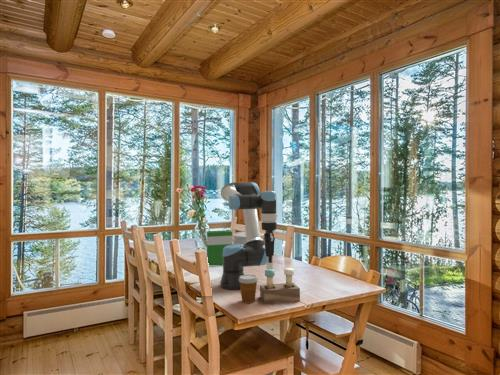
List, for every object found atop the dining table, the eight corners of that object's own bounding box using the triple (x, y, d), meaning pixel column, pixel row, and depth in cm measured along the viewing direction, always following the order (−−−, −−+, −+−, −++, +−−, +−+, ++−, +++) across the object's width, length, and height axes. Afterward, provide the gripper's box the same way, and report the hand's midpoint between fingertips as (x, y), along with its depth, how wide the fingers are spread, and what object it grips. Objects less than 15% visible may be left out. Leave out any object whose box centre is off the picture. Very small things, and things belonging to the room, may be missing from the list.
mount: (260, 296, 176) (260, 285, 176) (293, 294, 179) (293, 282, 179) (264, 303, 166) (264, 290, 166) (300, 300, 169) (299, 288, 169)
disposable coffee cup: (235, 303, 167) (235, 278, 167) (243, 296, 176) (242, 273, 175) (254, 305, 163) (253, 280, 163) (260, 298, 172) (260, 275, 172)
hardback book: (230, 262, 255) (230, 230, 254) (232, 264, 247) (232, 231, 247) (207, 263, 250) (206, 231, 250) (208, 266, 243) (207, 232, 243)
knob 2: (283, 285, 175) (283, 268, 175) (292, 285, 176) (292, 267, 176) (285, 288, 170) (285, 270, 170) (295, 288, 171) (294, 270, 171)
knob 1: (264, 287, 173) (263, 269, 173) (273, 286, 174) (273, 269, 174) (266, 290, 169) (266, 271, 168) (275, 289, 169) (275, 271, 169)
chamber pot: (225, 256, 276) (225, 230, 276) (240, 250, 301) (239, 226, 301) (258, 258, 265) (257, 232, 265) (269, 252, 291) (269, 227, 290)
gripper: (279, 222, 165) (280, 271, 165) (273, 220, 178) (273, 265, 178) (264, 223, 164) (265, 272, 164) (259, 220, 177) (259, 266, 177)
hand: (269, 268), depth 171 cm, fingers closed
